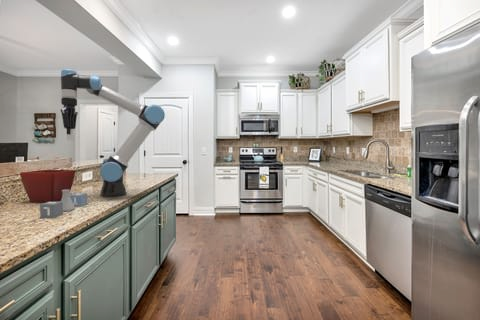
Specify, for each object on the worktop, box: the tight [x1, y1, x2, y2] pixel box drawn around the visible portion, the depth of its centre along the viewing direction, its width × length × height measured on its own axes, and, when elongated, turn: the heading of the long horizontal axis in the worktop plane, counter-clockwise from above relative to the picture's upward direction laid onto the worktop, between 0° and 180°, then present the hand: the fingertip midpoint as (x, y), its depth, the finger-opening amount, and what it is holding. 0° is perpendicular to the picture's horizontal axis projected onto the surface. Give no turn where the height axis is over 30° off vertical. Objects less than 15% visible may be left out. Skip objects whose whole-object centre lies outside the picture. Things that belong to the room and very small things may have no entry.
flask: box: [60, 190, 76, 212], centre depth 131 cm, size 7×7×10 cm
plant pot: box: [19, 169, 76, 203], centre depth 154 cm, size 19×19×17 cm
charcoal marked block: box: [39, 201, 64, 219], centre depth 120 cm, size 6×6×6 cm
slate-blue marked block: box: [70, 192, 88, 208], centre depth 142 cm, size 6×6×6 cm
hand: (69, 140), depth 152 cm, fingers closed
